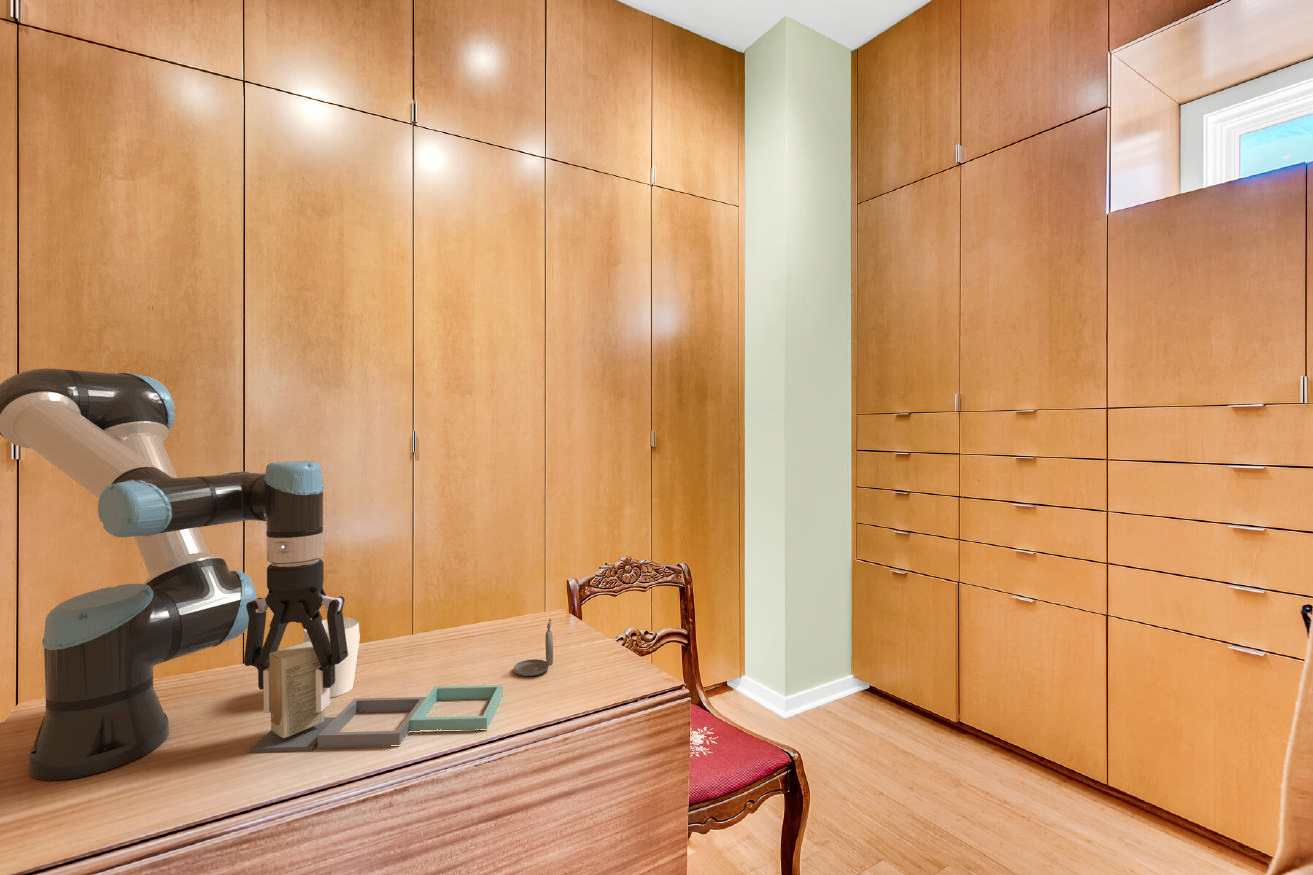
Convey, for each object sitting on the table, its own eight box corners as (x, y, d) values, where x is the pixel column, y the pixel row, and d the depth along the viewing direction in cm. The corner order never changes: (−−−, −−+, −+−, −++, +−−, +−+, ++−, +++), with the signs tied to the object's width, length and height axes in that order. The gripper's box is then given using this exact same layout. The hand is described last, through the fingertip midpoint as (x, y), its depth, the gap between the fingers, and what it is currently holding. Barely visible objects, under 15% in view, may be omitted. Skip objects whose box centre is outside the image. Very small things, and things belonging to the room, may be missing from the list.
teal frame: (409, 732, 93) (409, 719, 93) (434, 697, 105) (434, 686, 105) (486, 730, 94) (486, 717, 94) (502, 696, 106) (502, 684, 105)
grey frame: (317, 748, 88) (317, 735, 88) (354, 710, 100) (354, 698, 100) (399, 746, 89) (399, 733, 89) (426, 708, 101) (426, 696, 101)
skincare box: (311, 714, 96) (311, 639, 96) (325, 722, 93) (325, 645, 93) (267, 731, 91) (267, 651, 90) (280, 739, 88) (280, 658, 88)
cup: (336, 704, 103) (335, 635, 102) (291, 699, 104) (290, 631, 104) (371, 682, 111) (370, 618, 111) (329, 678, 113) (328, 615, 113)
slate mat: (249, 752, 87) (249, 748, 87) (284, 722, 96) (284, 718, 96) (312, 750, 88) (312, 746, 88) (341, 720, 97) (341, 716, 97)
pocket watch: (507, 671, 116) (506, 620, 116) (542, 658, 123) (542, 610, 122) (531, 683, 111) (531, 630, 111) (567, 669, 117) (567, 619, 117)
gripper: (211, 567, 87) (214, 721, 88) (350, 566, 88) (352, 718, 89) (244, 556, 95) (246, 698, 95) (372, 555, 96) (373, 695, 96)
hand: (297, 707), depth 92 cm, fingers open, 7 cm apart
